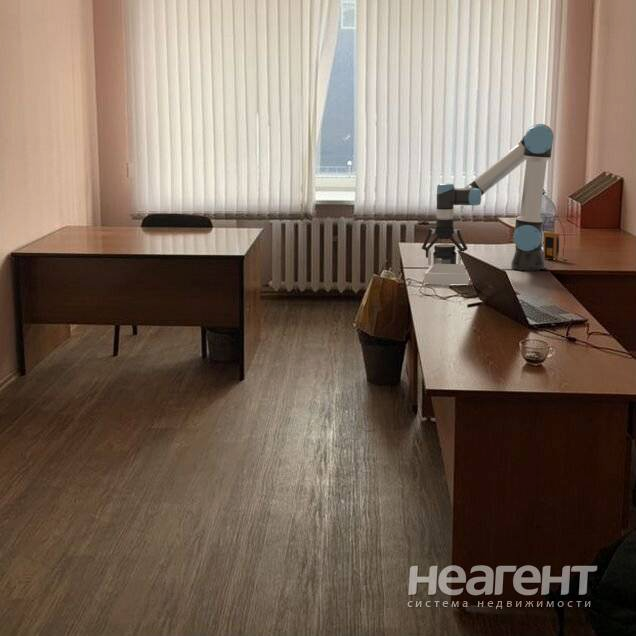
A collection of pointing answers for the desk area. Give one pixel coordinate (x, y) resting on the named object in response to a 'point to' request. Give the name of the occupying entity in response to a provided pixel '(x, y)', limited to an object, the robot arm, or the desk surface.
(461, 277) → the block
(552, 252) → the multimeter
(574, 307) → the desk surface
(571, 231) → the desk surface
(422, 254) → the desk surface
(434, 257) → the supplement container
